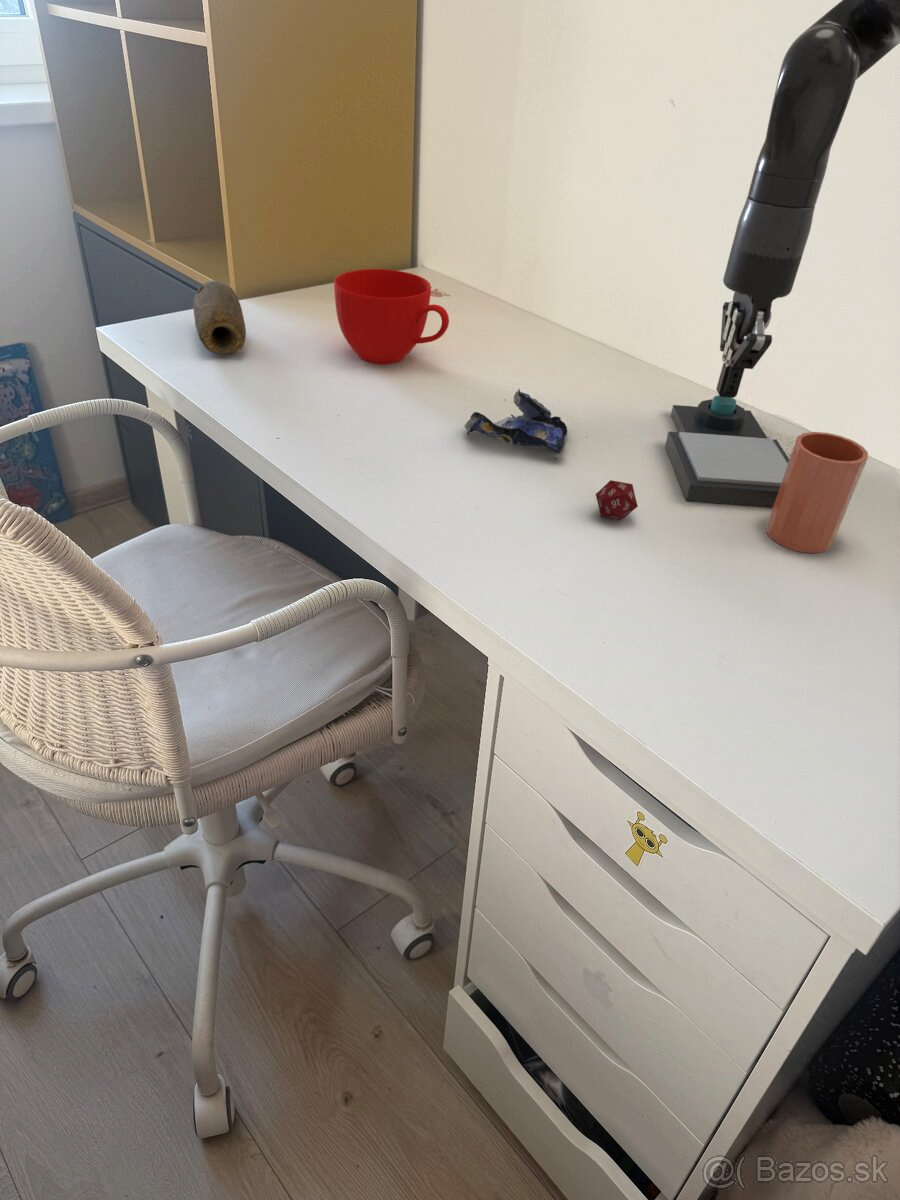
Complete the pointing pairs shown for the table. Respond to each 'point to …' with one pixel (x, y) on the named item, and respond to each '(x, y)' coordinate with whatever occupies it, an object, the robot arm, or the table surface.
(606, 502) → the dice
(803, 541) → the cup
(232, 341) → the stone weight
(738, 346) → the robot arm
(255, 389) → the table surface
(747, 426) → the pad
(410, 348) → the ceramic cup
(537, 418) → the snack package
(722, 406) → the button
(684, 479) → the scale
